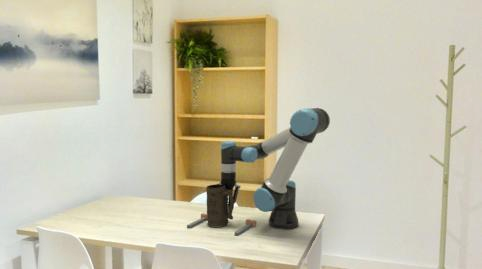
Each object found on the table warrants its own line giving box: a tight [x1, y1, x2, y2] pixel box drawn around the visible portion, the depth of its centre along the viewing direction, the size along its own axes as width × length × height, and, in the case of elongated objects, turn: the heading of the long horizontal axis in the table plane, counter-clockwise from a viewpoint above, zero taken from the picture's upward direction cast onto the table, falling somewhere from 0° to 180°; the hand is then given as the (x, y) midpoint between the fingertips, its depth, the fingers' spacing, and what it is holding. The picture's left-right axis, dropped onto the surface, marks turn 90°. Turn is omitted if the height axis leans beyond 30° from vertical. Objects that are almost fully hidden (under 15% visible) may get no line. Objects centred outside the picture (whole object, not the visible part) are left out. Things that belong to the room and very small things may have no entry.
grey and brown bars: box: [186, 212, 257, 237], centre depth 221 cm, size 31×18×3 cm, turn 65°
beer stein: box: [206, 183, 235, 228], centre depth 223 cm, size 15×11×20 cm
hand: (228, 216), depth 229 cm, fingers closed
